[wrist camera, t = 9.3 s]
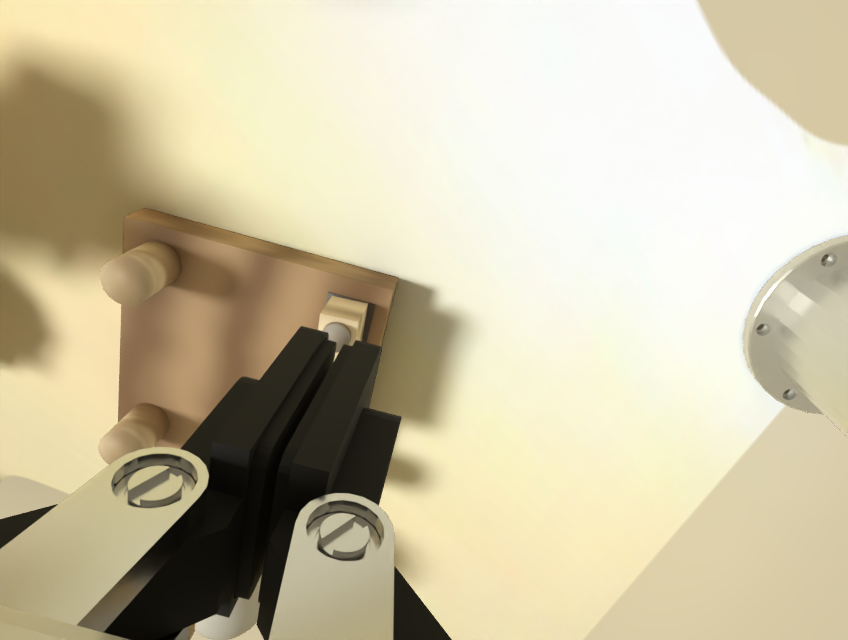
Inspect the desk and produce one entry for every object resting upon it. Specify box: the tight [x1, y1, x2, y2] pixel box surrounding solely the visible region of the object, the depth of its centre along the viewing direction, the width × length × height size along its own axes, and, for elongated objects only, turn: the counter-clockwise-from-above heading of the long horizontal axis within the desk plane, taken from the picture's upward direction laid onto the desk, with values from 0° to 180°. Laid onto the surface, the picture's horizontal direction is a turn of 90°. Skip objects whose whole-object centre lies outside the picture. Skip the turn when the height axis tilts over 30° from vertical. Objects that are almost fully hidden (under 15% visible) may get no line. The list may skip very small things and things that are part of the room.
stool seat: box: [98, 208, 398, 465], centre depth 39 cm, size 18×18×6 cm
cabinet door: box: [318, 296, 368, 361], centre depth 37 cm, size 10×2×4 cm, turn 169°
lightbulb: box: [195, 575, 262, 640], centre depth 44 cm, size 6×6×11 cm
